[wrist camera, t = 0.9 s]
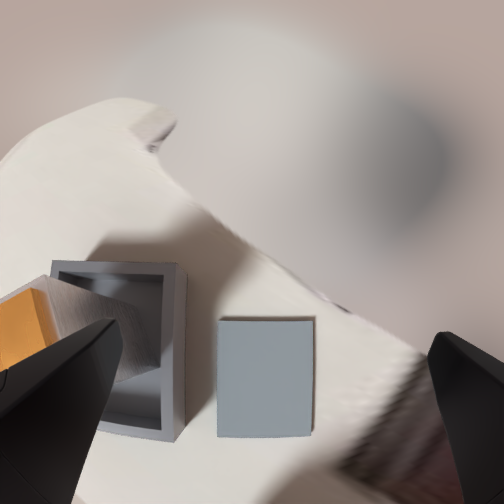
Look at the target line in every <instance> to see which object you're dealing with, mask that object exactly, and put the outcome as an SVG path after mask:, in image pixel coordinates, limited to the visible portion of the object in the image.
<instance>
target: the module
mask: <svg viewBox="0 0 504 504" xmlns="http://www.w3.org/2000/svg"><path fill="white" fill-rule="evenodd" d="M103 317H107V318H114V319H116V320H118V322H119V326H120V331H121V335H122V340H123V351H122V355H121V358H120V362H119V365H118V369H117V372H116V376H115V379H114V383H113V385H115V384H118V383H121V382H123V381H126V380H129V379H132V378H134V377H137V376H140V375H142V374H145V373H148V372H150V371H153V370H155V369H158V368H160V367H159V364H158V362H157V360H156V357H155V355H154V353H153V350H152V348H151V345H150V343H149V340H148V338H147V335H146V333H145V330H144V328H143V325H142V323H141V320H140V317H139V315H138V312H137V309H136V307H135V306H134V305H131V304H128V303H125V302H122V301H119V300H115V299H112V298H109V297H106V296H103V295H100V294H97V293H94V292H91V291H88V290H86V289H83V288H80V287H77V286H74V285H71V284H69V283H66V282H63V281H60V280H58V279H55V278H52V277H50V276H47V275H42V276H40V277H38V278H37V279H35V280H33V281H31V282H29V283H27V284H26V285H24V286H22V287H20V288H18V289H17V290H15V291H13V292H11V293H10V294H8V295H6V296H4V297H3V298H1V299H0V372H1V371H3V370H4V369H8V368H9V367H10V366H12V365H14V364H16V363H18V362H20V361H21V360H23V359H25V358H27V357H29V356H31V355H33V354H35V353H36V352H38V351H40V350H42V349H44V348H46V347H48V346H50V345H52V344H53V343H55V342H57V341H59V340H61V339H63V338H65V337H67V336H69V335H71V334H72V333H74V332H76V331H78V330H80V329H82V328H84V327H86V326H88V325H90V324H91V323H93V322H95V321H97V320H99V319H101V318H103Z"/></svg>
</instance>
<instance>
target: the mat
mask: <svg viewBox="0 0 504 504" xmlns="http://www.w3.org/2000/svg"><path fill="white" fill-rule="evenodd" d="M312 386H313V321H218V336H217V437H230V438H280V437H302V436H311V423H312Z"/></svg>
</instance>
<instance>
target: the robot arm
mask: <svg viewBox="0 0 504 504" xmlns="http://www.w3.org/2000/svg"><path fill="white" fill-rule="evenodd" d="M122 351H123V340H122V335H121V331H120V326H119V322H118V320H116V319H114V318H107V317H103V318H101V319H99V320H97V321H95V322H93V323H91V324H90V325H88V326H86V327H84V328H82V329H80V330H78V331H76V332H74V333H72V334H71V335H69V336H67V337H65V338H63V339H61V340H59V341H57V342H55V343H53V344H52V345H50V346H48V347H46V348H44V349H42V350H40V351H38V352H36V353H35V354H33V355H31V356H29V357H27V358H25V359H23V360H21V361H20V362H18V363H16V364H14V365H12V366H10V367H9V368H8V369H4V370H3V371H1V372H0V504H71V502H72V499H73V496H74V493H75V490H76V487H77V484H78V481H79V478H80V475H81V472H82V469H83V466H84V463H85V460H86V457H87V455H88V452H89V449H90V446H91V443H92V441H93V438H94V435H95V433H96V430H97V427H98V425H99V422H100V420H101V417H102V414H103V412H104V409H105V407H106V404H107V402H108V399H109V396H110V393H111V390H112V387H113V383H114V379H115V376H116V372H117V369H118V365H119V362H120V358H121V355H122ZM427 362H428V366H429V370H430V374H431V379H432V383H433V387H434V392H435V396H436V400H437V404H438V407H439V411H440V414H441V417H442V420H443V423H444V427H445V430H446V433H447V437H448V440H449V444H450V447H451V451H452V455H453V458H454V462H455V466H456V470H457V474H458V478H459V482H460V487H461V491H462V496H463V501H464V504H504V363H503V362H501V361H499V360H497V359H496V358H494V357H493V356H491V355H489V354H488V353H486V352H484V351H482V350H481V349H479V348H477V347H476V346H474V345H472V344H470V343H468V342H467V341H465V340H464V339H462V338H460V337H458V336H457V335H455V334H453V333H451V332H439V333H437V334H436V336H435V338H434V340H433V343H432V345H431V348H430V350H429V352H428V356H427Z"/></svg>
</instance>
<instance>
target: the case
mask: <svg viewBox="0 0 504 504" xmlns="http://www.w3.org/2000/svg"><path fill="white" fill-rule="evenodd" d="M50 277H52V278H55V279H58V280H60V281H63V282H66V283H69V284H71V285H74V286H77V287H80V288H83V289H86V290H88V291H91V292H94V293H97V294H100V295H103V296H106V297H109V298H112V299H115V300H119V301H122V302H125V303H128V304H131V305H134V306H135V307H136V309H137V312H138V315H139V317H140V320H141V323H142V325H143V328H144V330H145V333H146V335H147V338H148V340H149V343H150V345H151V348H152V350H153V353H154V355H155V357H156V360H157V362H158V364H159V367H160V368H158V369H155V370H153V371H150V372H148V373H145V374H142V375H140V376H137V377H134V378H132V379H129V380H126V381H123V382H121V383H118V384H115V385H113V387H112V390H111V393H110V396H109V399H108V402H107V404H106V407H105V409H104V412H103V414H102V417H101V420H100V422H99V425H98V427H97V430H98V431H103V432H108V433H113V434H118V435H124V436H130V437H136V438H142V439H149V440H156V441H164V442H173V443H174V442H175V441H176V439H177V438H178V436H179V435H180V434H181V432H182V431H183V430H184V428H185V325H186V295H187V274H186V273H185V272H184V271H183V269H182V268H181V267H180V266H179V265H178V264H177V263H152V262H104V261H64V260H52V266H51V274H50Z"/></svg>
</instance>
